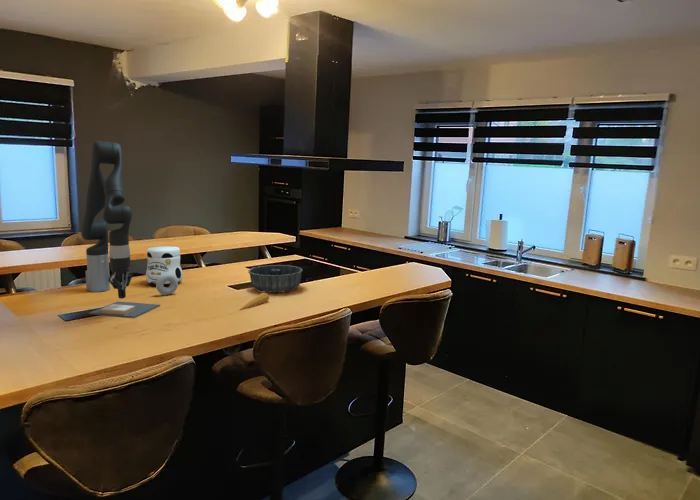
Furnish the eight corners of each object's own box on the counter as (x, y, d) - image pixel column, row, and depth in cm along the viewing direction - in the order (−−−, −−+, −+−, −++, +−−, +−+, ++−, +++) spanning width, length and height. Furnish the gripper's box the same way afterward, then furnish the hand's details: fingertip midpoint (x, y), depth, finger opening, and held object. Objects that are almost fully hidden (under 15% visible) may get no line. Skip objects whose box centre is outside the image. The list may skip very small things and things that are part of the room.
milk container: (148, 289, 243) (146, 252, 240) (144, 281, 258) (143, 246, 255) (185, 285, 251) (184, 250, 248) (179, 278, 266) (178, 245, 263)
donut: (157, 297, 228) (157, 275, 226) (155, 295, 231) (154, 274, 229) (179, 294, 234) (178, 273, 233) (176, 292, 237) (176, 271, 235)
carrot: (264, 302, 227) (261, 292, 227) (272, 299, 225) (268, 290, 225) (235, 317, 210) (231, 307, 210) (243, 314, 208) (239, 304, 208)
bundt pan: (237, 292, 241) (237, 271, 239) (266, 281, 265) (266, 262, 264) (286, 298, 231) (286, 277, 230) (311, 286, 255) (311, 267, 254)
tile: (113, 308, 206) (101, 313, 200) (112, 304, 206) (101, 308, 199) (135, 310, 205) (124, 314, 198) (135, 305, 204) (124, 310, 198)
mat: (88, 314, 200) (88, 312, 200) (117, 302, 217) (117, 301, 217) (134, 317, 196) (134, 316, 196) (159, 306, 214) (159, 304, 214)
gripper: (121, 252, 208) (123, 293, 211) (100, 258, 195) (103, 301, 198) (138, 253, 207) (140, 294, 210) (118, 259, 194) (120, 302, 197)
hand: (122, 298), depth 204 cm, fingers closed
